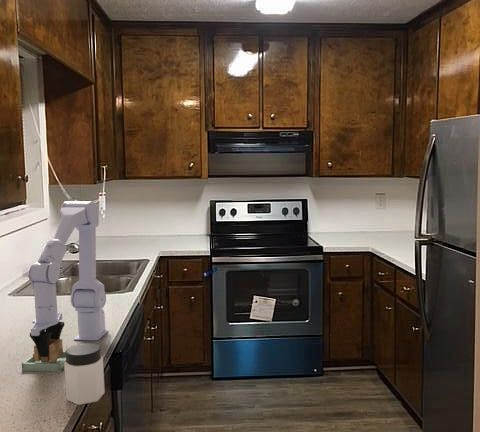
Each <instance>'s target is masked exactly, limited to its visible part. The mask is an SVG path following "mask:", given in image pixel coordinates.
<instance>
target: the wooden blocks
mask: <svg viewBox="0 0 480 432" xmlns="http://www.w3.org/2000/svg"><path fill="white" fill-rule="evenodd" d="M63 351H64V347H63V339H62V338H60V339H58V340H56V339H50V341H49V353H48V356H47V357H40V356H39V353H38V350H37V347H36V345H35V344H34V345H33V354H32V355H33V359H35V361H36V362H39V361H40V360H41V362H48V361H49V360H50V362H55V361H56V360H57V359H58V358H59V357H61V356H62V355H63Z"/></svg>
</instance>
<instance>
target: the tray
mask: <svg viewBox="0 0 480 432" xmlns="http://www.w3.org/2000/svg"><path fill="white" fill-rule="evenodd" d="M65 362H66V350H63V355H62V356H61V357H59V358H58V359H57V360H56V361H55V362H50V360H49V361H48V362H41V360H40V361H39V362H36V361H35V359H33V354H32V355H31V356H30V357H28V358H27V359H25V361H22V363H21V371H23V372H24V371H25V372H49V371H51V373H53V372H55V371H61V372H62V371H63V370H65V367H64V363H65ZM52 371H53V372H52ZM55 373H56V372H55Z"/></svg>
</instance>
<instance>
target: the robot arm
mask: <svg viewBox="0 0 480 432" xmlns="http://www.w3.org/2000/svg"><path fill="white" fill-rule="evenodd" d="M99 213H100V212H99V207H98V205H97V204H96V202H95V201H93V200H90V201H70V200H69V201H68V200H66V201H63V203H62V204H61V207H60V210H59V217H60V221H59V223H58V226H57V228H56V232H55V234H54V237H53V239H51V240H49V241H47V242H46V244H45V246H44V248H43V251H42V252H41V254H40V256H39V258H38V260H37V262H34V263H33V264H31V266H30V267H29V269H28V274H27V277H28V279H29V282H30V283H31V288H32V290H33V293H34V295H33V296H34V309H35V319H33V320H32V321H31V323H32V324H33V326H32V327H31V328H30V332H29V338H31V340H32V342H33V343H34V345H36V347H37V350H38V353H39V356H40V357H47V356H48V353H49V341H50V339H56V340H58V339H61V335H62V332H63V329H64V327H65V322H64V321H62V320H63V313H62V312H58V301H57V281H58V280H59V279H60V274H61V268H62V267H61V266H62V265H61V263H62V261H63V258H64V256H65V254H66V252H67V251H68V250H67V246H66V243H67V242H68V240H69V238H70V237H71V235H72V233H73V232H74V230H75V228H76V230H77V231H78V266H79V267H78V271H79V272H78V273H79V275H78V280H77V281H76V282H75V283H74V284H72V287H71V289H72V290H71V294H70V295H71V296H70V304H71V306H72V307H73V308H74V310H75V312H76V313H77V327H78V328H77V329H78V334H77V335H76V336H75V337H74V338H73V341H99V340H100V339H101V338H102V337H103V336H104V335H106V334H107V333H108V332H109V329H106V319H105V318H106V317H105V311H104V309H103V308H104V307H105V305H106V303H107V295H106V292H105V284H103V283H102V282H101V281H100V280H98V279H97V265H96V264H97V263H96V262H97V251H96V249H97V247H96V246H97V243H96V242H97V241H96V239H97V238H96V237H97V236H96V235H97V234H96V232H97V231H96V230H97V229H96V228H97V227H99V221H100V220H99V217H100V216H99Z"/></svg>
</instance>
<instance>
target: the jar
mask: <svg viewBox="0 0 480 432" xmlns="http://www.w3.org/2000/svg"><path fill="white" fill-rule="evenodd" d="M101 349H102V347H101V346H100V344H97V343H90V342H89V343H79V344H75V345H72V346H69V347H68V348H67V349H65V351H66V362H65V363H64V367H65V368H64V378H65V379H64V381H65V397H66V398H65V399H66V401H67V400H69V401H68V402H70V401H71V402H70V403H72V402H73V404H75V405H77V406H80V405H86V404H91V403H96V402H99V400H100V399H101V398H102V397H103V395H104V394H105V376H104V373H105V372H104V356H102V350H101Z"/></svg>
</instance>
